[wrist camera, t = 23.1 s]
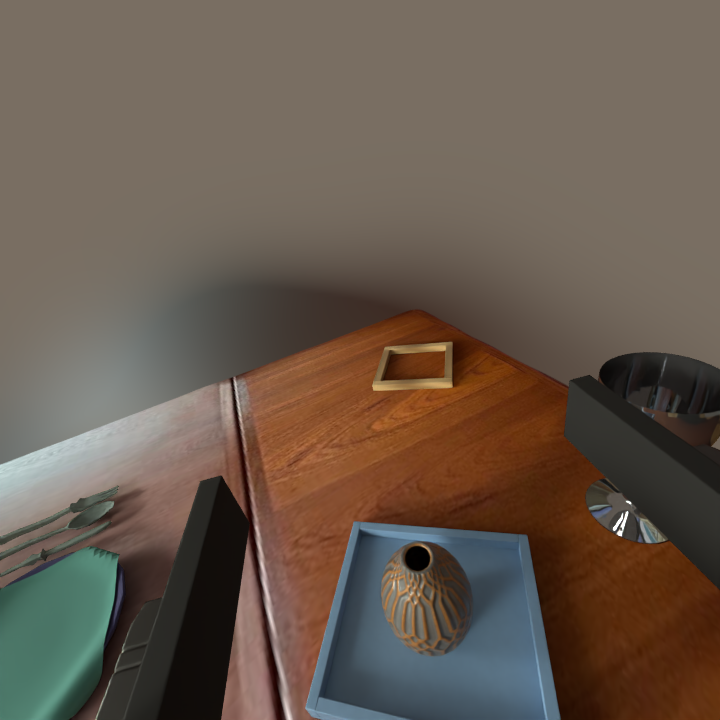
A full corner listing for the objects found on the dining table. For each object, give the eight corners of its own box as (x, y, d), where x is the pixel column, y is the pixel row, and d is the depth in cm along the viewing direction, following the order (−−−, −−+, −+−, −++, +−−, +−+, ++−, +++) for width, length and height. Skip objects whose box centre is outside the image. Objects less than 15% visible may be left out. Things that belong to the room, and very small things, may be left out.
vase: (403, 685, 25) (382, 628, 21) (381, 588, 31) (360, 528, 27) (492, 654, 26) (488, 592, 22) (453, 564, 32) (444, 502, 28)
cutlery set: (-219, 936, 22) (-258, 935, 21) (-9, 548, 47) (-22, 538, 45) (122, 719, 28) (105, 709, 26) (147, 476, 52) (139, 466, 51)
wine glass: (710, 531, 30) (775, 392, 23) (628, 561, 29) (668, 428, 22) (630, 465, 37) (659, 342, 30) (562, 488, 36) (575, 369, 29)
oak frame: (453, 347, 66) (452, 341, 65) (452, 387, 55) (452, 381, 54) (386, 352, 70) (384, 346, 69) (373, 391, 59) (372, 385, 58)
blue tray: (526, 545, 32) (527, 534, 31) (569, 786, 20) (571, 778, 20) (357, 530, 37) (353, 521, 36) (311, 716, 25) (304, 708, 25)
